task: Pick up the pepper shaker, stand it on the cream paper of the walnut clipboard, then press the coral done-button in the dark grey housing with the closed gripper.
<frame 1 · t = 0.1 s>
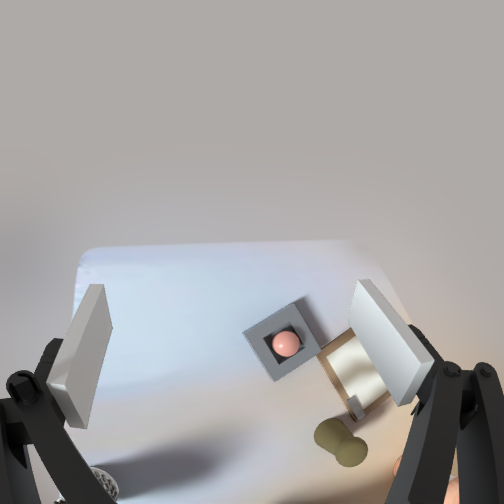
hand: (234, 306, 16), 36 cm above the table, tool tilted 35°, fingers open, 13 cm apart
pepper shaker: (329, 433, 50), on the table
decorative candle: (97, 484, 42), on the table
button housing: (279, 341, 52), on the table
clipboard: (362, 369, 53), on the table
done button: (285, 343, 48), point 3 cm above the table, slide at 0.0 cm
pepper shaker 2: (406, 464, 51), on the table
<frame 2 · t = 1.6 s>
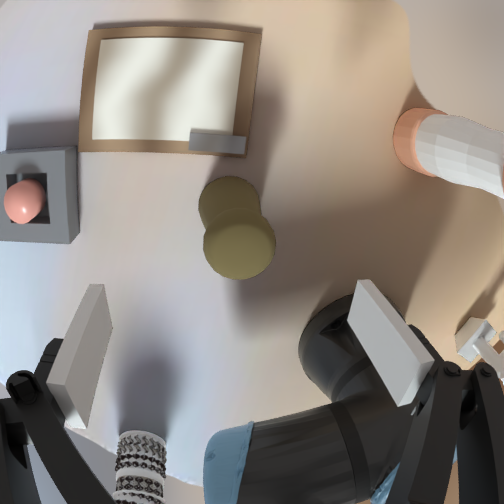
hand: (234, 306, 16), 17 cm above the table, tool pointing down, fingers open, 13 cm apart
pepper shaker: (229, 205, 32), on the table
decorative candle: (142, 441, 47), on the table
button housing: (40, 190, 28), on the table
clipboard: (165, 88, 26), on the table
done button: (24, 200, 25), point 3 cm above the table, slide at 0.0 cm
figurine: (466, 329, 47), on the table
pepper shaker 2: (417, 138, 31), on the table
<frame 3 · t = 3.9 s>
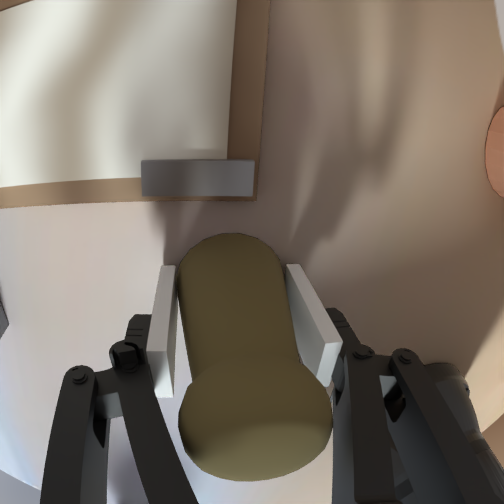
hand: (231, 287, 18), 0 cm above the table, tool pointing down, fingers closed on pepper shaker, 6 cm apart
pepper shaker: (229, 281, 18), on the table, touching gripper
clipboard: (93, 79, 12), on the table
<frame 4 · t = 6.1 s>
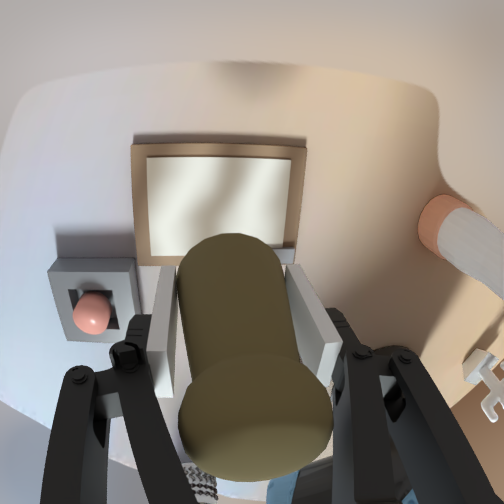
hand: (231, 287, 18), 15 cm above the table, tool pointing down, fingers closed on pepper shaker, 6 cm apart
pepper shaker: (230, 281, 18), point 14 cm above the table, touching gripper
decorative candle: (194, 470, 53), on the table
button housing: (100, 294, 33), on the table
clipboard: (217, 205, 31), on the table
done button: (92, 312, 30), point 4 cm above the table, slide at 0.0 cm
figurine: (472, 357, 51), on the table
pepper shaker 2: (438, 221, 36), on the table
when the fingers open (3 cm above the table, at t = 8.5 s): pepper shaker drops 1 cm, resting on clipboard.
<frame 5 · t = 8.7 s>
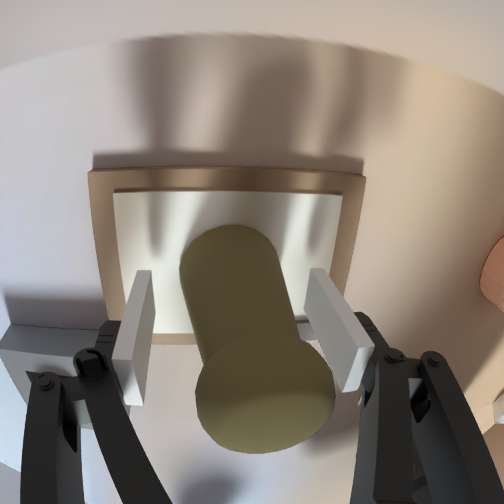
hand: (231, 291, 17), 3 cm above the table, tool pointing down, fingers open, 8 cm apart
pepper shaker: (229, 270, 19), point 1 cm above the table, touching clipboard
button housing: (70, 369, 23), on the table
clipboard: (226, 262, 20), on the table
done button: (60, 400, 19), point 4 cm above the table, slide at 0.0 cm
figurine: (502, 395, 41), on the table
pepper shaker 2: (501, 264, 25), on the table
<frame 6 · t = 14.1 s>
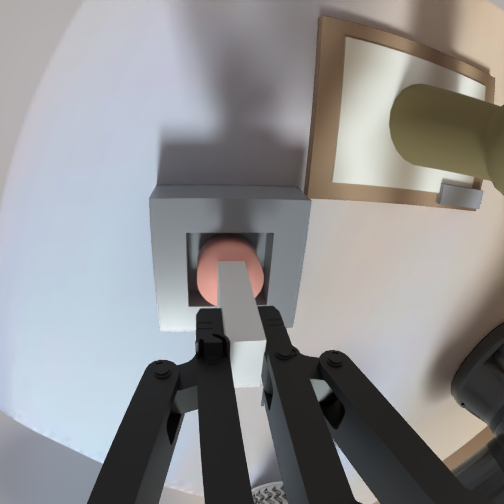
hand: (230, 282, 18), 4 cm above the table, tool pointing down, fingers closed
pepper shaker: (422, 125, 19), point 1 cm above the table, touching clipboard
decorative candle: (273, 489, 42), on the table
button housing: (225, 250, 22), on the table
clipboard: (414, 123, 20), on the table
done button: (228, 270, 20), point 3 cm above the table, slide at 0.6 cm, touching gripper
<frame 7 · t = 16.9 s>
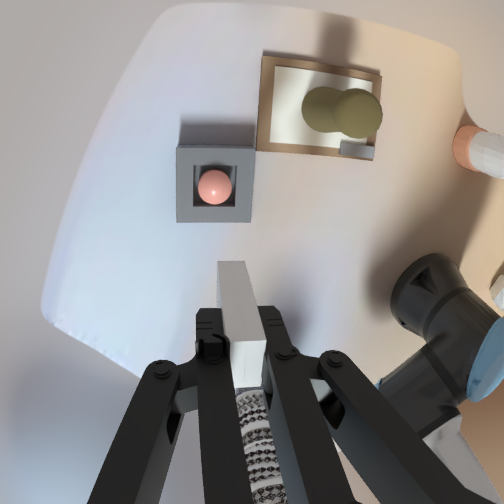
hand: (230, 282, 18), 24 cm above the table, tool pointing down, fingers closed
pepper shaker: (323, 109, 37), point 1 cm above the table, touching clipboard
decorative candle: (254, 401, 60), on the table
button housing: (213, 180, 40), on the table
clipboard: (321, 109, 38), on the table
done button: (214, 185, 37), point 3 cm above the table, slide at 0.7 cm
figurine: (496, 285, 58), on the table
pepper shaker 2: (466, 146, 42), on the table
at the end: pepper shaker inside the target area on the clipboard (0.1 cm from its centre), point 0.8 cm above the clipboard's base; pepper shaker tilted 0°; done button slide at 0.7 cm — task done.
